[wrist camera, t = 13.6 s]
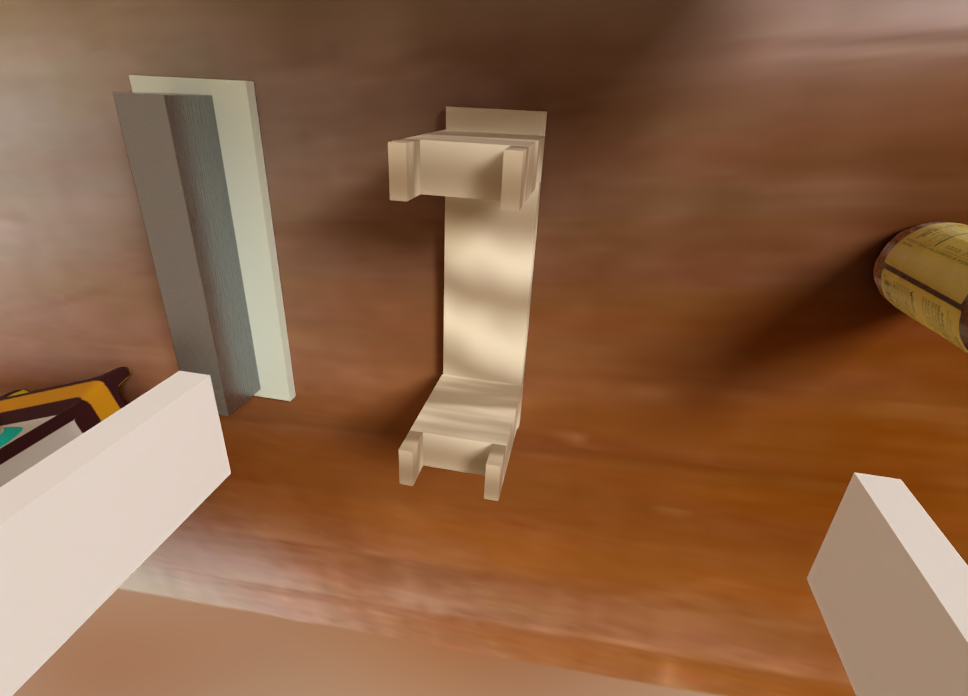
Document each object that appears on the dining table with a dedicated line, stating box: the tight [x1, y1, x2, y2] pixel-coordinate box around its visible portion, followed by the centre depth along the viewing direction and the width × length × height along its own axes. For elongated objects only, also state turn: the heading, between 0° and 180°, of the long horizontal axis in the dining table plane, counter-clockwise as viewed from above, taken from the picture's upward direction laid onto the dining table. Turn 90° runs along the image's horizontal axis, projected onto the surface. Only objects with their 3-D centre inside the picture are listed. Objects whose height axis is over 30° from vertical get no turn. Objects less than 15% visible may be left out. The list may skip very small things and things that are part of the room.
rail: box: [113, 92, 261, 416], centre depth 44 cm, size 26×4×5 cm, turn 177°
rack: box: [388, 106, 547, 501], centre depth 38 cm, size 26×7×12 cm, turn 177°
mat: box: [129, 75, 296, 401], centre depth 47 cm, size 28×10×1 cm, turn 177°
